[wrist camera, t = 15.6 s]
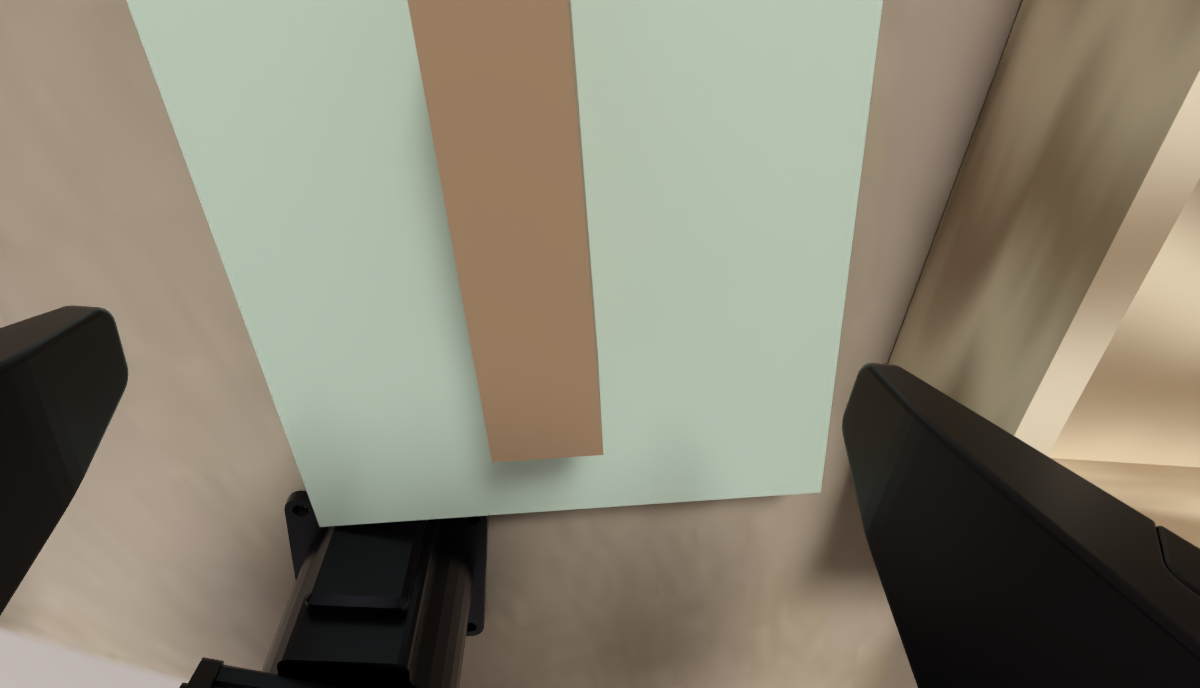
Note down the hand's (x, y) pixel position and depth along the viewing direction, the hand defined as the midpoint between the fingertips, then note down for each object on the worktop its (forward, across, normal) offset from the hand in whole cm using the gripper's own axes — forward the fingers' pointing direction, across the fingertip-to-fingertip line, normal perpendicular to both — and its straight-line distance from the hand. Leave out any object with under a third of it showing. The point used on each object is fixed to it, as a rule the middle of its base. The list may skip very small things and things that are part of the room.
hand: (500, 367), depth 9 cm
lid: (+11, 0, +1) cm, 11 cm away
